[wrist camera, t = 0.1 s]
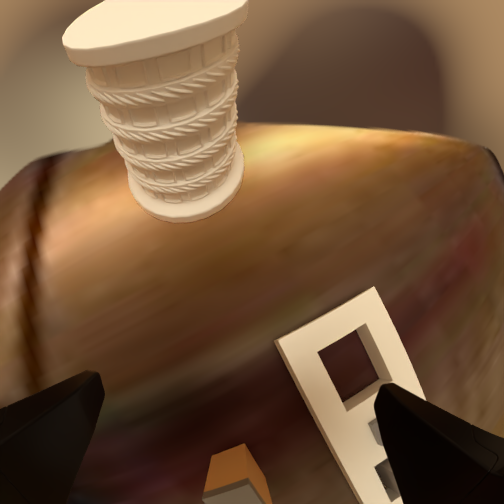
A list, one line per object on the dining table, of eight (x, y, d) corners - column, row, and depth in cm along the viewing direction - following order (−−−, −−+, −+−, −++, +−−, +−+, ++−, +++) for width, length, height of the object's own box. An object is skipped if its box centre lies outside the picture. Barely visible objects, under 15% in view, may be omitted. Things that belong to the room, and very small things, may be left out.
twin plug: (408, 466, 19) (456, 490, 11) (384, 484, 18) (427, 515, 10) (397, 440, 20) (448, 462, 12) (372, 459, 19) (417, 488, 12)
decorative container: (264, 195, 27) (296, 15, 10) (148, 242, 25) (46, 86, 8) (218, 117, 30) (214, -29, 13) (122, 153, 28) (63, 15, 11)
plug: (265, 477, 18) (278, 524, 11) (233, 489, 18) (233, 539, 10) (244, 443, 20) (248, 484, 12) (211, 455, 19) (202, 499, 11)
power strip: (449, 511, 15) (464, 519, 12) (389, 555, 14) (401, 567, 11) (361, 292, 24) (378, 284, 21) (273, 340, 23) (279, 339, 19)
